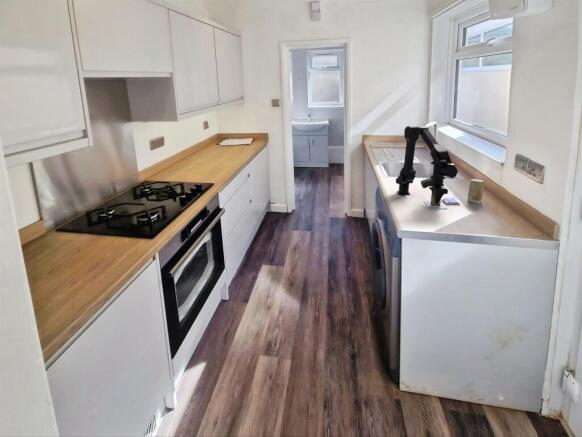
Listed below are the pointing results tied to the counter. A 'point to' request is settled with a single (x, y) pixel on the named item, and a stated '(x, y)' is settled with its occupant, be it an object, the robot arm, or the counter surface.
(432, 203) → the stamp
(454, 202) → the tray
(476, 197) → the skincare box
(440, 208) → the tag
